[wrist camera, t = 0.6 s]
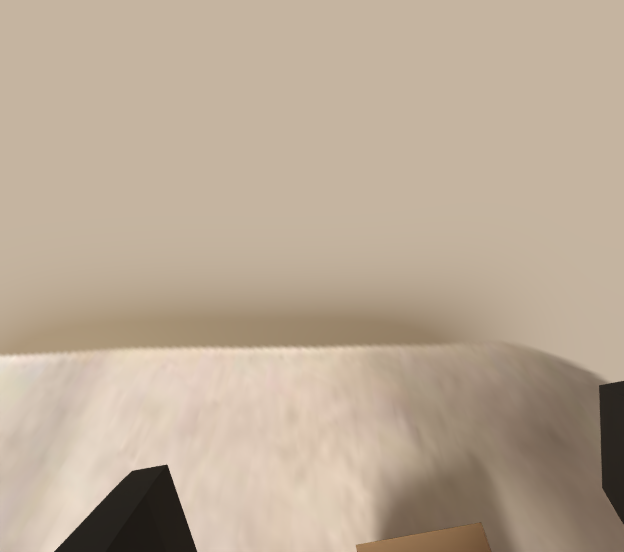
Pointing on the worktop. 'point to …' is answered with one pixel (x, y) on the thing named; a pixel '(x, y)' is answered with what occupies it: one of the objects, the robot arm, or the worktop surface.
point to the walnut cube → (434, 541)
